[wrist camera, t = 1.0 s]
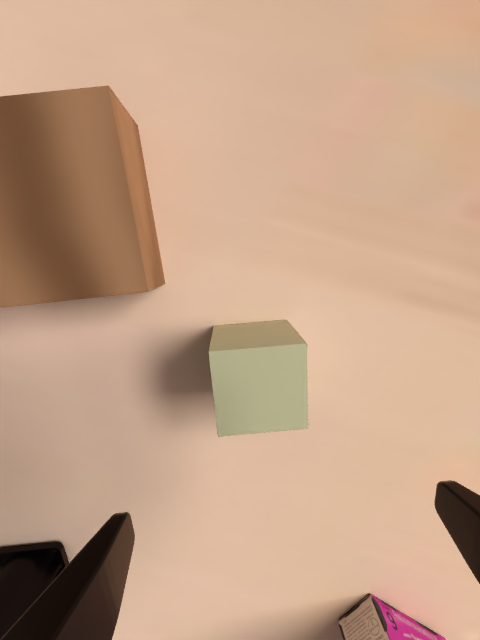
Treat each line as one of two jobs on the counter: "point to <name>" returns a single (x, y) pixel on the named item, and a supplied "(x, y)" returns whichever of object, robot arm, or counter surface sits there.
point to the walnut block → (73, 199)
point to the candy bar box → (382, 623)
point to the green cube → (258, 378)
